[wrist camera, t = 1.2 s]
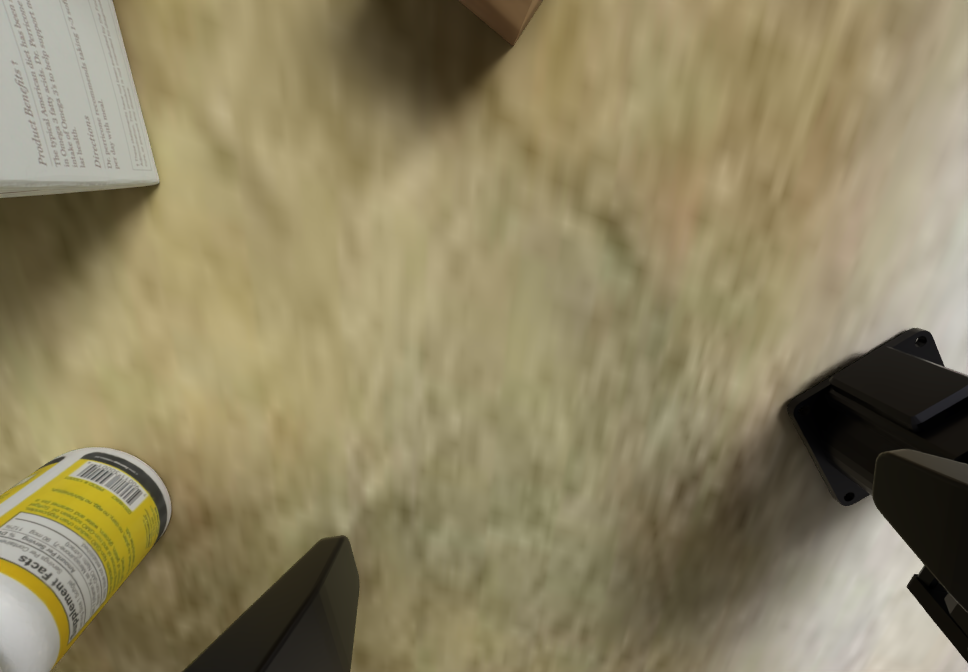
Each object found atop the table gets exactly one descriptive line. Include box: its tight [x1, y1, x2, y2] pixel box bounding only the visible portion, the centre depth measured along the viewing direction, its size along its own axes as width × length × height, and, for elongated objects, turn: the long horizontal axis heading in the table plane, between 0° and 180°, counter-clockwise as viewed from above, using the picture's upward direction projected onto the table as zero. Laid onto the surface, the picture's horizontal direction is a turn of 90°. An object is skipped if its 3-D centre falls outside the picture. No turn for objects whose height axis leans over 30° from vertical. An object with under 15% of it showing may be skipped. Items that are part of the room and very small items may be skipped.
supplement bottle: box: [0, 447, 171, 672], centre depth 17 cm, size 6×6×10 cm
